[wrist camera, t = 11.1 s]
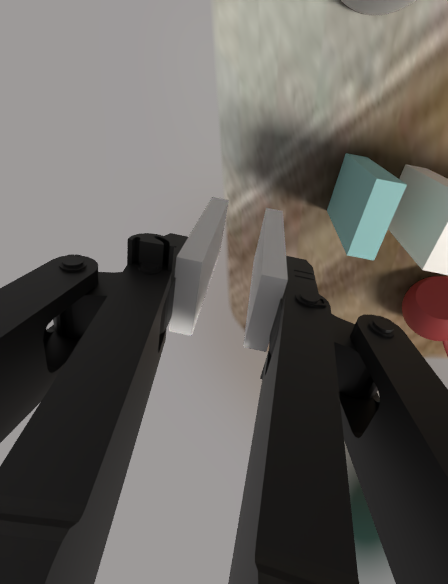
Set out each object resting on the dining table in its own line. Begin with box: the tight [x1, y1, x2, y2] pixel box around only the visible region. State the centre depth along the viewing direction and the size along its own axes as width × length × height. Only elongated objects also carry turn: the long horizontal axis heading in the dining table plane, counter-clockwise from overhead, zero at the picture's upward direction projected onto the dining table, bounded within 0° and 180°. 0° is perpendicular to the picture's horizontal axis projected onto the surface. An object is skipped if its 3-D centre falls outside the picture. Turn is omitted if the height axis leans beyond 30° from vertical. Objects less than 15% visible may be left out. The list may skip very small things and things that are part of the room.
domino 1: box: [327, 153, 407, 260], centre depth 25 cm, size 2×5×10 cm, turn 171°
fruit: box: [402, 276, 448, 356], centre depth 32 cm, size 6×6×8 cm
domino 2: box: [388, 164, 448, 275], centre depth 25 cm, size 2×5×10 cm, turn 170°
